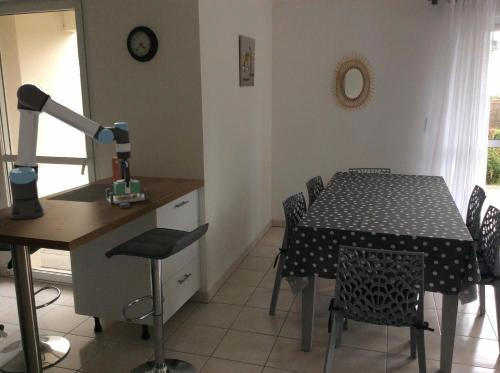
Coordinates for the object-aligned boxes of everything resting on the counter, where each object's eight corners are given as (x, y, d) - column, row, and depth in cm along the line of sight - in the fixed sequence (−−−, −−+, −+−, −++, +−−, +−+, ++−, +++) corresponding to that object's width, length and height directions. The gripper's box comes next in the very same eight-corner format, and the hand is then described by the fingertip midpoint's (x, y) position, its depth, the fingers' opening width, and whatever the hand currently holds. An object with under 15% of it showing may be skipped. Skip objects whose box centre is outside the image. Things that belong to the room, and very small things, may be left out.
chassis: (111, 204, 248) (110, 193, 246) (106, 199, 259) (105, 189, 258) (147, 199, 257) (147, 189, 256) (141, 195, 268) (140, 185, 267)
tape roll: (121, 209, 238) (120, 205, 237) (119, 207, 242) (118, 203, 242) (130, 208, 240) (130, 204, 239) (128, 206, 244) (128, 202, 244)
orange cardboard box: (133, 188, 287) (122, 193, 272) (123, 188, 288) (111, 193, 274) (131, 154, 282) (119, 158, 268) (120, 154, 284) (108, 158, 269)
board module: (116, 195, 251) (115, 182, 250) (114, 192, 257) (113, 180, 256) (140, 192, 257) (139, 180, 256) (137, 190, 263) (136, 178, 262)
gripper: (134, 152, 245) (137, 194, 250) (126, 148, 263) (128, 187, 267) (120, 153, 242) (123, 196, 247) (112, 149, 259) (115, 189, 264)
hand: (126, 191), depth 257 cm, fingers closed on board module, 7 cm apart
